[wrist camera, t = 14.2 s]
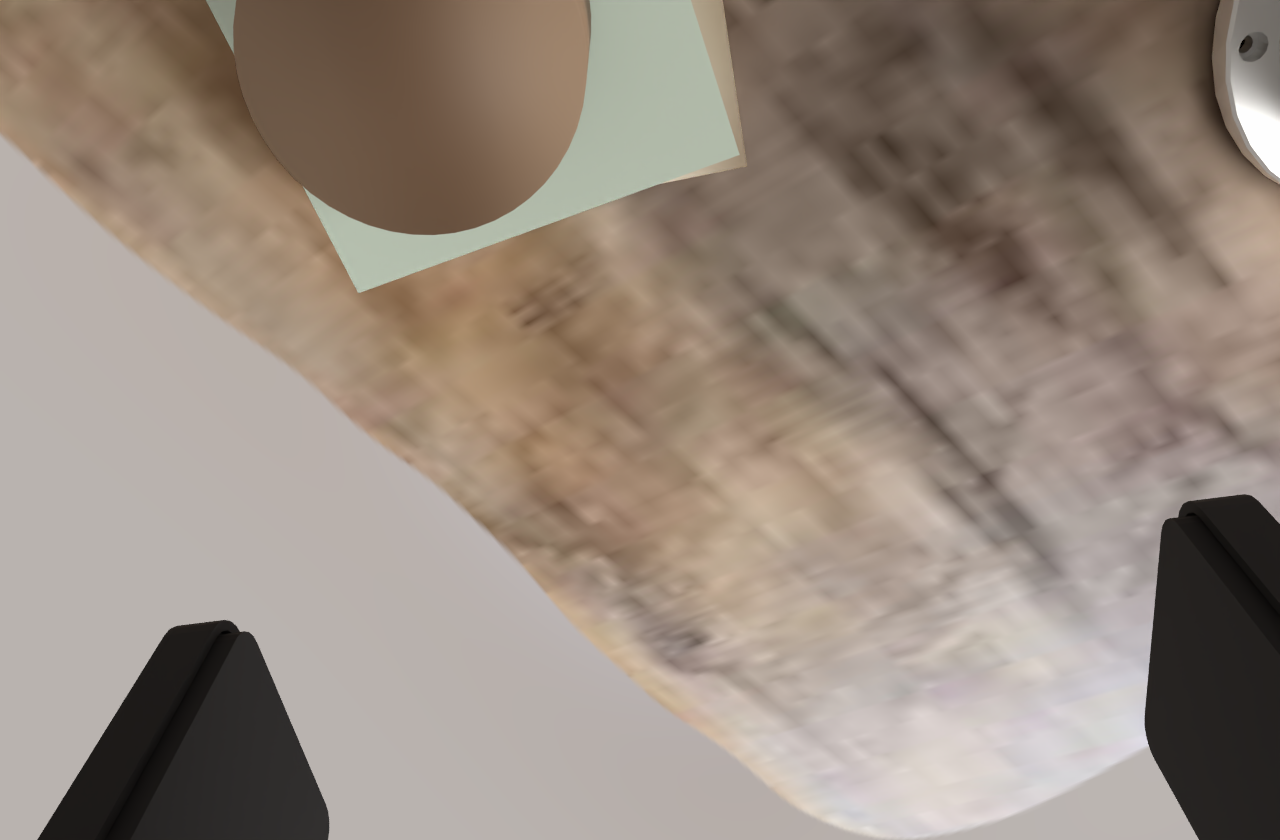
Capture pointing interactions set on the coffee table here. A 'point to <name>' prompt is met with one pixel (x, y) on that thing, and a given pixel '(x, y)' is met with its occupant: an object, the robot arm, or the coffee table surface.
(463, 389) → the coffee table surface
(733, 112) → the tower base
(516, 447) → the coffee table surface
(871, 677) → the coffee table surface
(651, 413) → the coffee table surface
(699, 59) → the tower top
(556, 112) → the walnut cylinder
